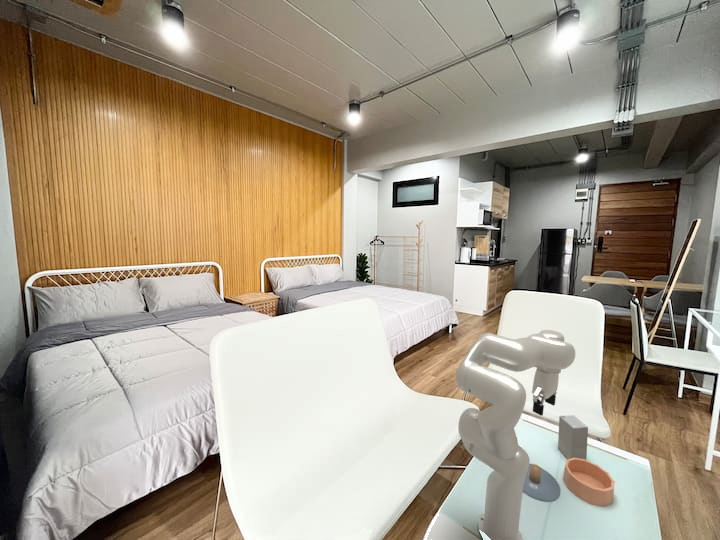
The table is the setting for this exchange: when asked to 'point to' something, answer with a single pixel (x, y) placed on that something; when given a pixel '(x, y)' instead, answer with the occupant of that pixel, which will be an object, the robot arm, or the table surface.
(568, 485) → the bowl
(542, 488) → the lid
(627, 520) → the table surface
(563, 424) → the skincare box
